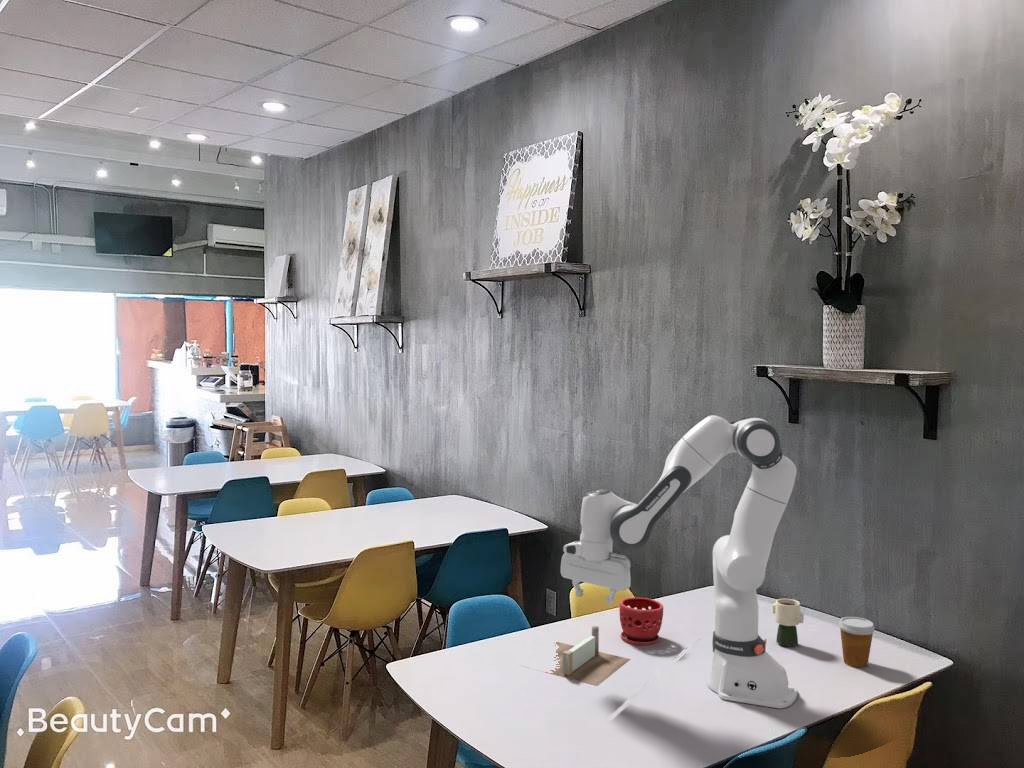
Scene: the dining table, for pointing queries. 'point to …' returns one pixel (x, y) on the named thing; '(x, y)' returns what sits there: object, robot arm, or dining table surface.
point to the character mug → (787, 620)
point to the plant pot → (640, 620)
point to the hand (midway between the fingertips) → (594, 599)
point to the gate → (578, 655)
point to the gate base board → (590, 664)
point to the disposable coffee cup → (856, 640)
